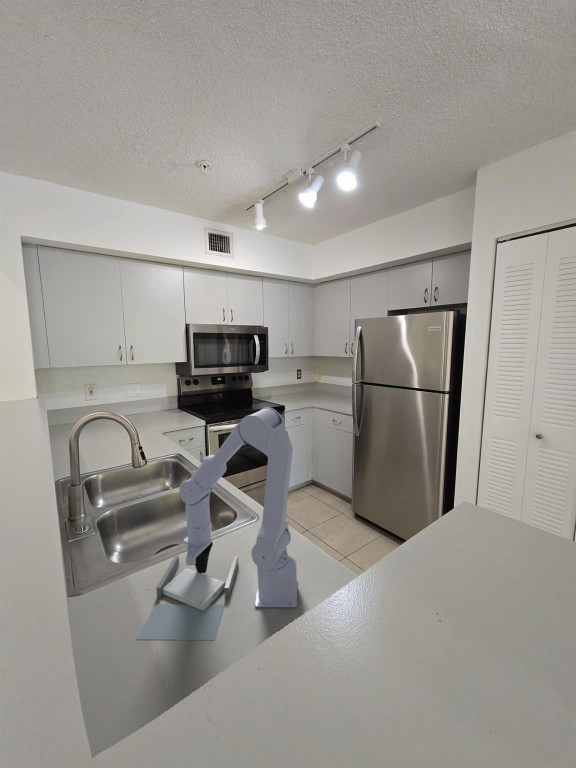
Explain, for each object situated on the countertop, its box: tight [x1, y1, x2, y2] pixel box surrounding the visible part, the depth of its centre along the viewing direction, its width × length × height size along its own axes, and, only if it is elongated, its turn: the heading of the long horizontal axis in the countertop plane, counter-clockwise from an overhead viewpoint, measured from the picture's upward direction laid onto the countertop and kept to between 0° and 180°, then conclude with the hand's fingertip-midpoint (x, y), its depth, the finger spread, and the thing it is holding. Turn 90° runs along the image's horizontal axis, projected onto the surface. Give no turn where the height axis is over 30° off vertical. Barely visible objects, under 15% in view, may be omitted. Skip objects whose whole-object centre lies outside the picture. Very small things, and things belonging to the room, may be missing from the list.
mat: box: [136, 603, 225, 641], centre depth 70 cm, size 16×9×1 cm, turn 88°
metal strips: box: [155, 555, 239, 599], centre depth 82 cm, size 17×12×2 cm
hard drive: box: [163, 567, 226, 611], centre depth 78 cm, size 2×8×12 cm
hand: (201, 572), depth 83 cm, fingers closed, pressing on hard drive
